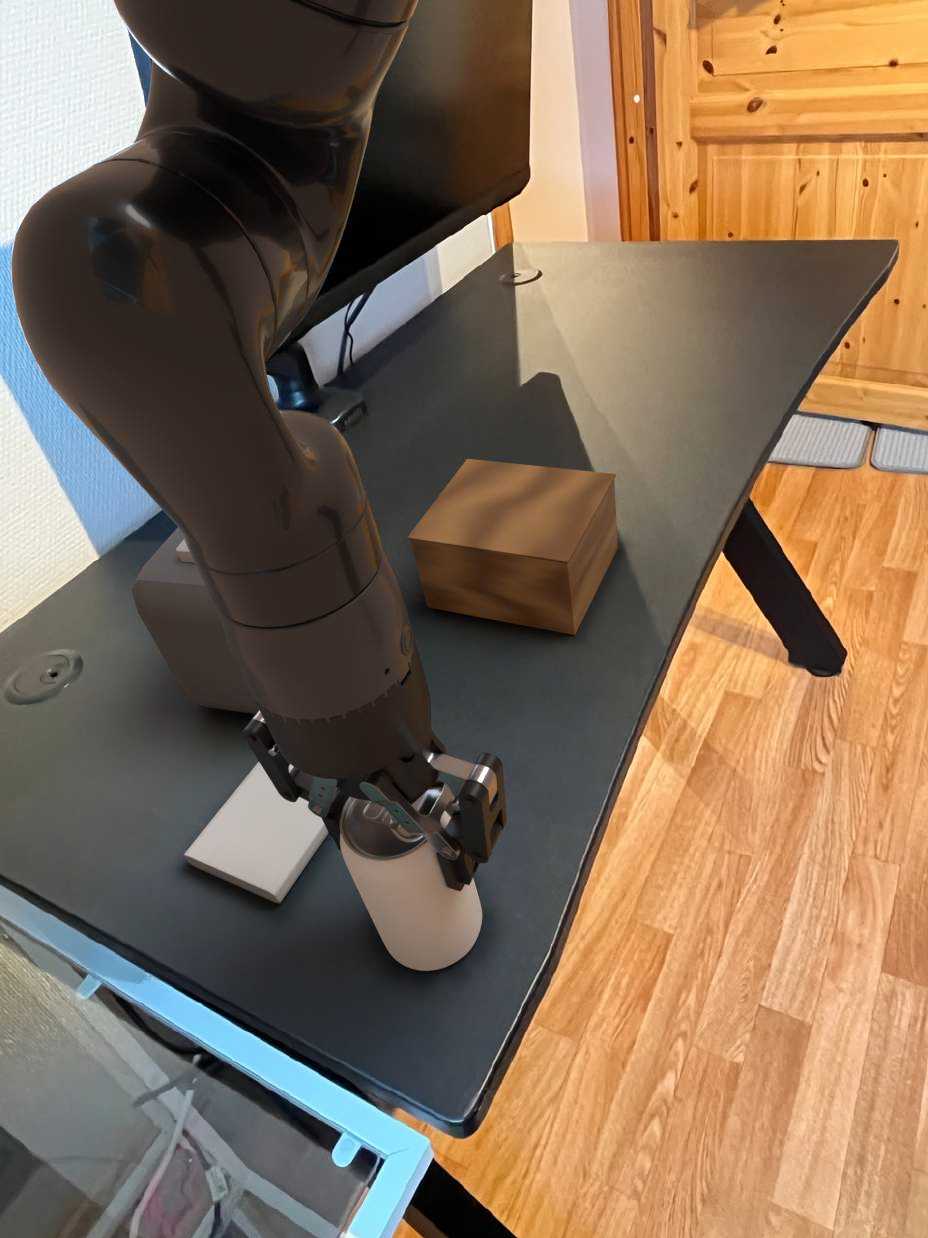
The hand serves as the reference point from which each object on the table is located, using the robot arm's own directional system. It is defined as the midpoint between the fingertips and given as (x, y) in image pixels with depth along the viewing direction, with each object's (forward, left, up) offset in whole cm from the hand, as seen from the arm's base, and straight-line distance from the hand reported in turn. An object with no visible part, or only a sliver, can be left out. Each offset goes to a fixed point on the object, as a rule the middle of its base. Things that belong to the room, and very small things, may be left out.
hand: (407, 857), depth 48 cm
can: (0, 0, -8) cm, 8 cm away
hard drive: (+14, -4, -8) cm, 17 cm away
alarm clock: (+24, -18, -8) cm, 31 cm away
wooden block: (+7, -33, -8) cm, 35 cm away
